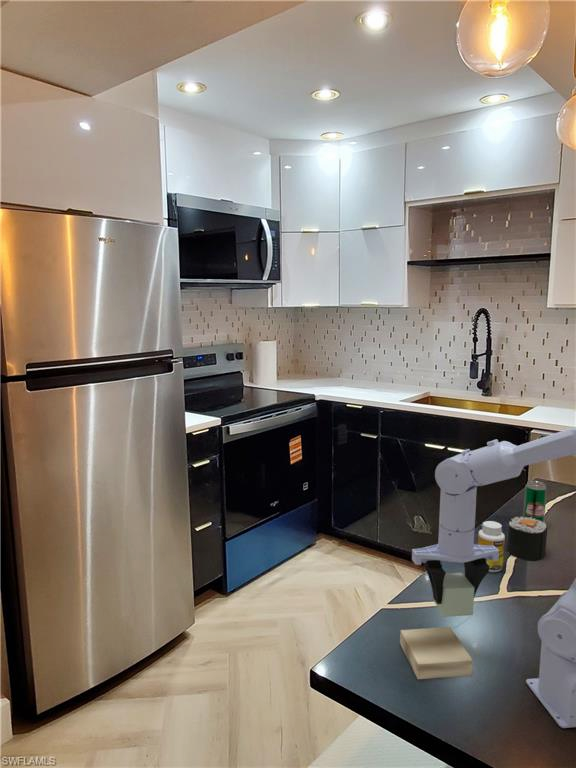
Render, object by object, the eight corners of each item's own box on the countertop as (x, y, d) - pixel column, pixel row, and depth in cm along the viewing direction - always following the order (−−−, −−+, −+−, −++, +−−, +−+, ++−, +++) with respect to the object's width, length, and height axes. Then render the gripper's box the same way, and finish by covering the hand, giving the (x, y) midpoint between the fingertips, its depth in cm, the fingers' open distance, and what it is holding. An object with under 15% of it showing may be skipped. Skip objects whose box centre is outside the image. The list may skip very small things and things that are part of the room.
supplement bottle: (492, 575, 117) (495, 531, 116) (471, 565, 122) (473, 522, 120) (508, 569, 120) (510, 525, 119) (486, 559, 125) (489, 517, 123)
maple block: (471, 677, 86) (472, 660, 86) (417, 681, 85) (418, 664, 85) (449, 642, 95) (450, 626, 95) (400, 645, 94) (400, 630, 94)
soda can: (524, 529, 141) (527, 485, 139) (521, 521, 146) (524, 479, 144) (545, 531, 140) (548, 487, 138) (542, 523, 145) (545, 481, 143)
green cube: (472, 615, 90) (474, 587, 90) (444, 616, 90) (445, 589, 89) (460, 598, 95) (462, 572, 95) (433, 600, 95) (434, 574, 94)
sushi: (548, 551, 129) (551, 519, 127) (538, 564, 122) (541, 531, 121) (513, 541, 134) (516, 511, 133) (502, 553, 127) (504, 522, 126)
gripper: (487, 514, 95) (483, 585, 97) (407, 517, 94) (404, 589, 96) (506, 531, 88) (502, 607, 90) (421, 534, 87) (418, 612, 89)
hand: (453, 600), depth 92 cm, fingers closed on green cube, 5 cm apart
